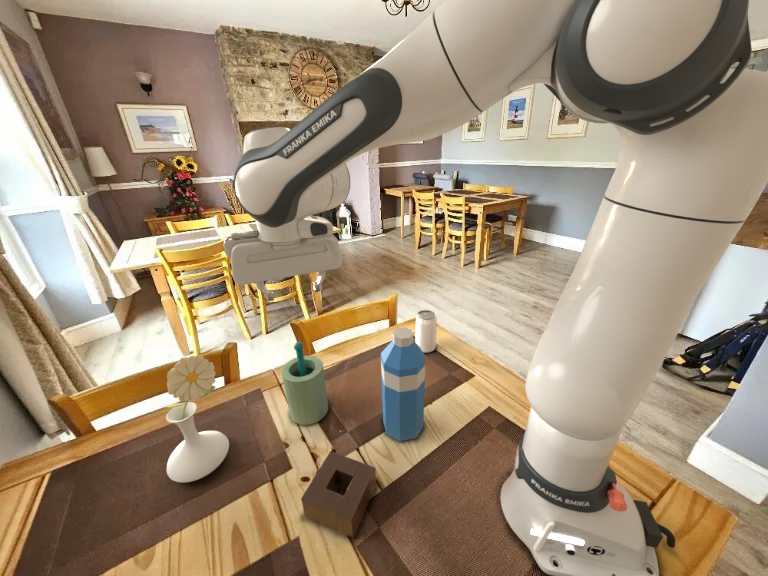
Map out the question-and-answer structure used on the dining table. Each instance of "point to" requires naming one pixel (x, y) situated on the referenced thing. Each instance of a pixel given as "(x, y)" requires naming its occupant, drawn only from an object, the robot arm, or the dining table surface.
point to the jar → (305, 390)
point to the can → (426, 330)
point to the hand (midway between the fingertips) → (294, 295)
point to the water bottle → (403, 386)
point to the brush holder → (333, 506)
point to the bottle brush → (300, 358)
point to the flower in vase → (197, 448)
